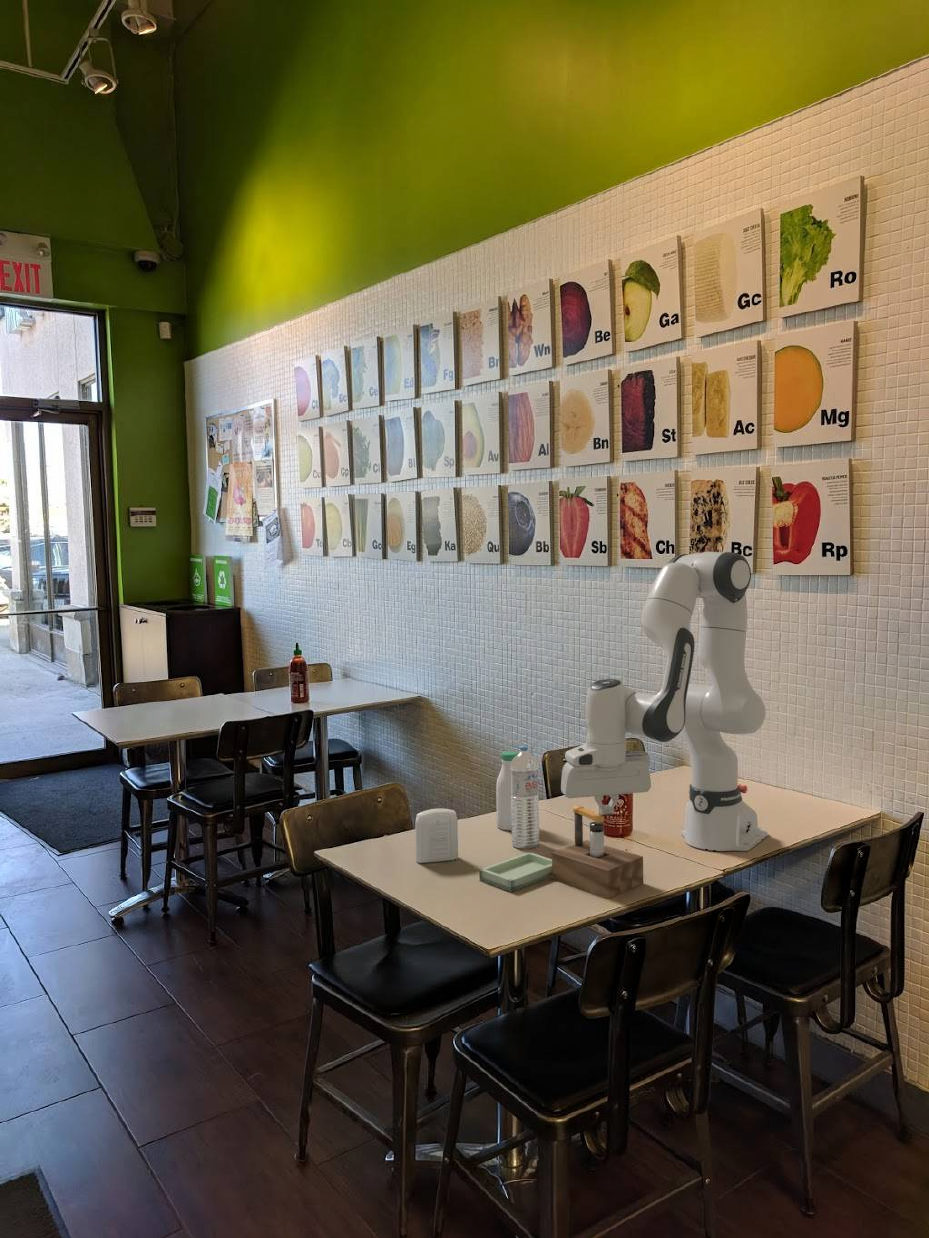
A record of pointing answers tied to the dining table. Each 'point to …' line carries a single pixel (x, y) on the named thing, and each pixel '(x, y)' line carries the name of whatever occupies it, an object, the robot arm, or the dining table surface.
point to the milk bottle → (504, 792)
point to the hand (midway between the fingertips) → (606, 813)
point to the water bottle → (524, 800)
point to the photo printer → (436, 835)
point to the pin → (596, 840)
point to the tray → (517, 872)
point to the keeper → (588, 814)
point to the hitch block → (596, 867)
